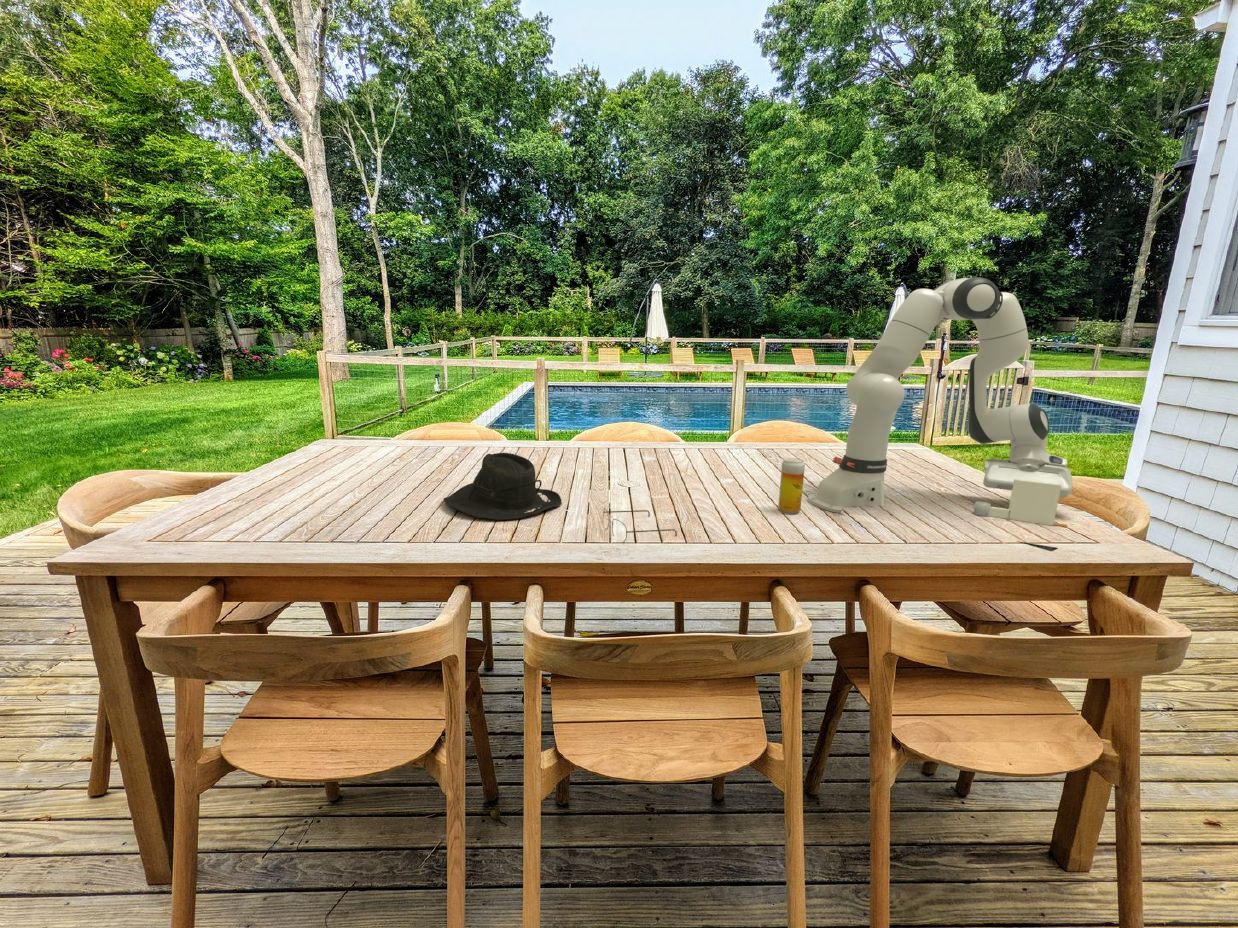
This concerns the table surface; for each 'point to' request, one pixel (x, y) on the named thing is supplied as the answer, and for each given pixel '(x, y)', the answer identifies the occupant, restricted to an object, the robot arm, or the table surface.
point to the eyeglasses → (634, 531)
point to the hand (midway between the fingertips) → (1025, 503)
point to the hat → (503, 490)
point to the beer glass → (791, 485)
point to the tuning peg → (1027, 503)
